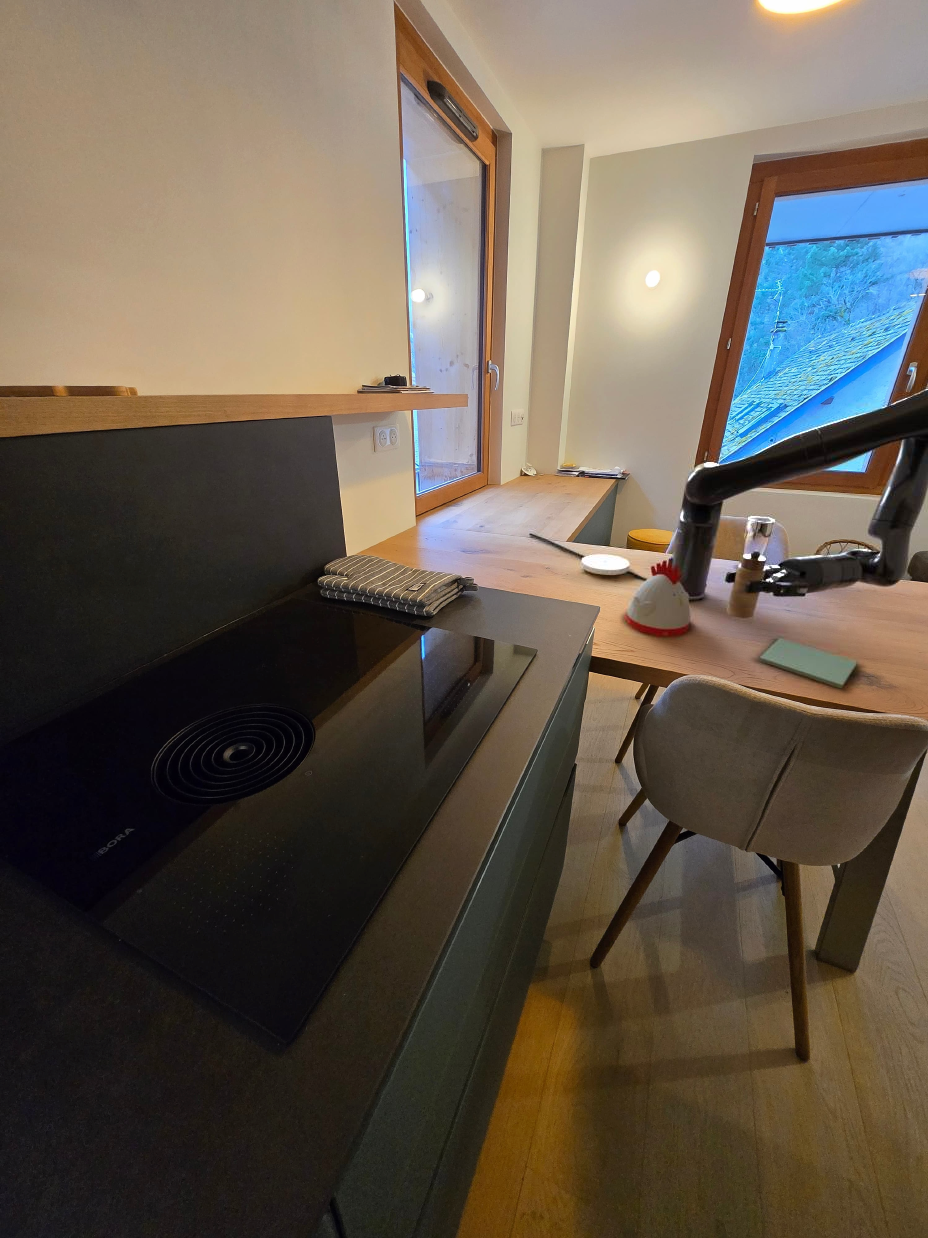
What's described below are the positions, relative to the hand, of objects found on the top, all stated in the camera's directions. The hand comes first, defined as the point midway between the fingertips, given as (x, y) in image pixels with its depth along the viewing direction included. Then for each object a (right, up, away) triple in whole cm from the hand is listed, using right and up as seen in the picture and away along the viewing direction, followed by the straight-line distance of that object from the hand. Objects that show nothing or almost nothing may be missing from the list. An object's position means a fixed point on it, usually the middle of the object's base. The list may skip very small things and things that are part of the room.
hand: (737, 582), depth 97 cm
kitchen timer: (-8, -8, +19) cm, 22 cm away
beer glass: (+32, +8, +50) cm, 60 cm away
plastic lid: (-12, +7, +51) cm, 53 cm away
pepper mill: (+3, -6, +4) cm, 7 cm away
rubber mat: (+15, -16, +2) cm, 22 cm away
